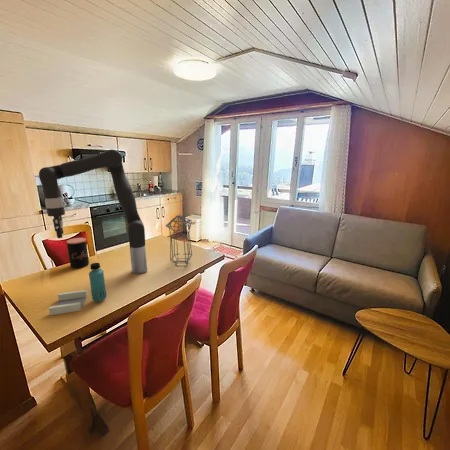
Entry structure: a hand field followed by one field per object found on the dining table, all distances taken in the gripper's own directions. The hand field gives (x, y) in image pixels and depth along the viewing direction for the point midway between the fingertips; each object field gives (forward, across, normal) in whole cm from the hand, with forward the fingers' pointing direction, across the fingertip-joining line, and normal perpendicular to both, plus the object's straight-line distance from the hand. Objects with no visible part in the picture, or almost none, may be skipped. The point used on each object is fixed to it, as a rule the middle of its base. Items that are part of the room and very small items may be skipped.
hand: (60, 235), depth 124 cm
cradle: (+28, -25, -1) cm, 38 cm away
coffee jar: (+29, +24, -5) cm, 38 cm away
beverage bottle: (+29, -28, -14) cm, 43 cm away
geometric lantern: (+30, -5, -65) cm, 72 cm away
